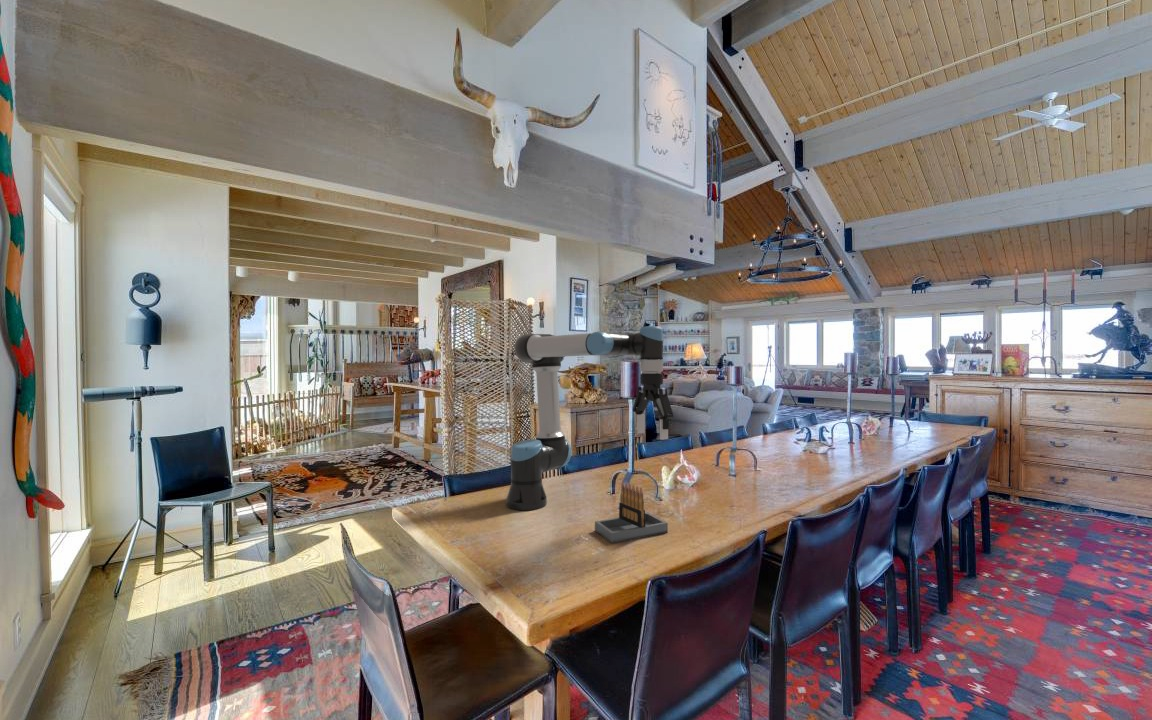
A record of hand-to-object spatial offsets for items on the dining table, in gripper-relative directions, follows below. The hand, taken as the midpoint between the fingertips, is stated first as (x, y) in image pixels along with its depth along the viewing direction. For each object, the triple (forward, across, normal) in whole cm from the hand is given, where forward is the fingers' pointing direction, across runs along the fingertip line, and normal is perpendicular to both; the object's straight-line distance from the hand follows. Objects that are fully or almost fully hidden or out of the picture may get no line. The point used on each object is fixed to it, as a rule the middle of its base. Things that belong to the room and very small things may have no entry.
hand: (651, 436), depth 153 cm
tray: (+29, -4, +11) cm, 31 cm away
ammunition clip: (+26, -5, +11) cm, 28 cm away
